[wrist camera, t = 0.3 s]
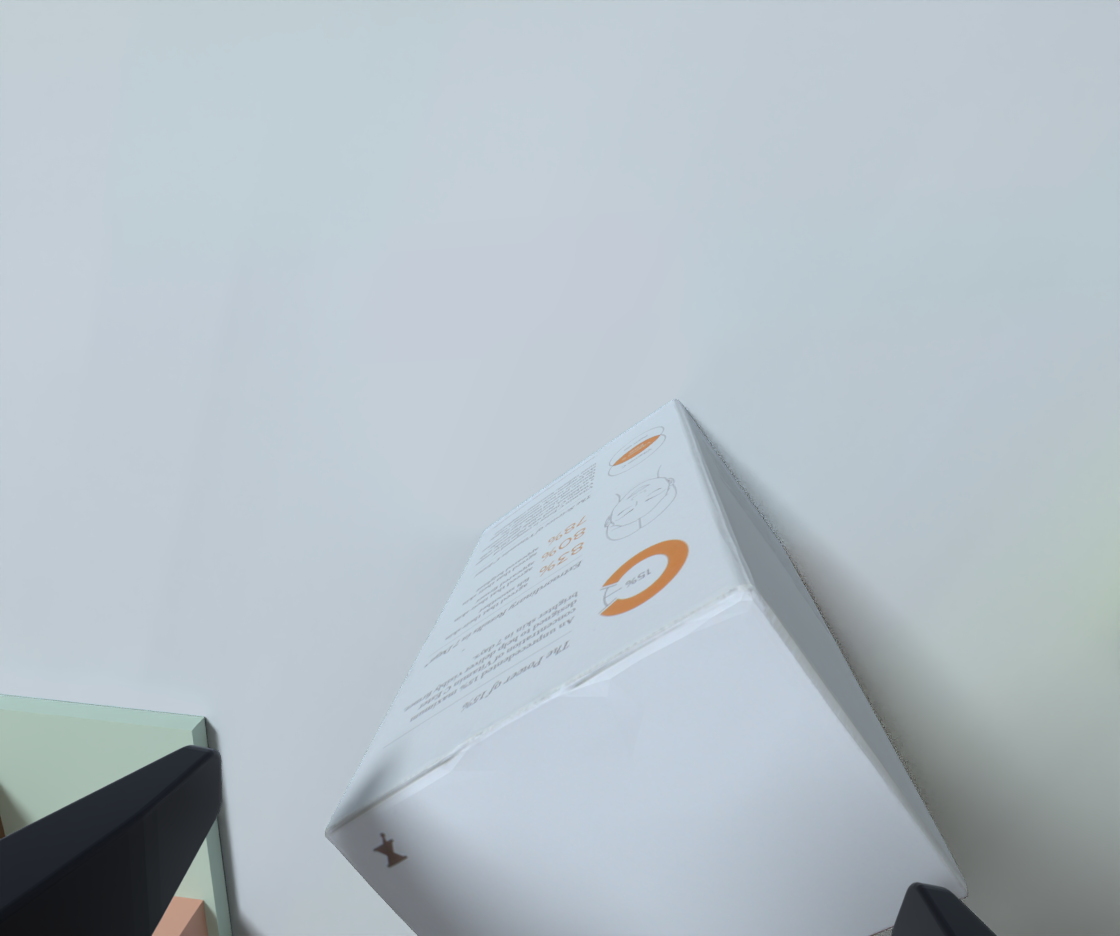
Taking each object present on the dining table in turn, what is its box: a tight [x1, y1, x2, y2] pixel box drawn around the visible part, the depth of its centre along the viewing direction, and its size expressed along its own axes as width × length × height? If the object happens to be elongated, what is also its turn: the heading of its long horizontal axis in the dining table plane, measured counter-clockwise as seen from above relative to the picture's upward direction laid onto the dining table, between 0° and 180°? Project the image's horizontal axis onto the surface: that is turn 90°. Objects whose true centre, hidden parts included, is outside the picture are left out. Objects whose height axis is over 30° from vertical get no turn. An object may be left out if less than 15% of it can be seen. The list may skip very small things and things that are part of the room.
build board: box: [0, 695, 232, 936], centre depth 29 cm, size 16×16×1 cm
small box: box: [325, 399, 968, 936], centre depth 17 cm, size 8×6×13 cm
